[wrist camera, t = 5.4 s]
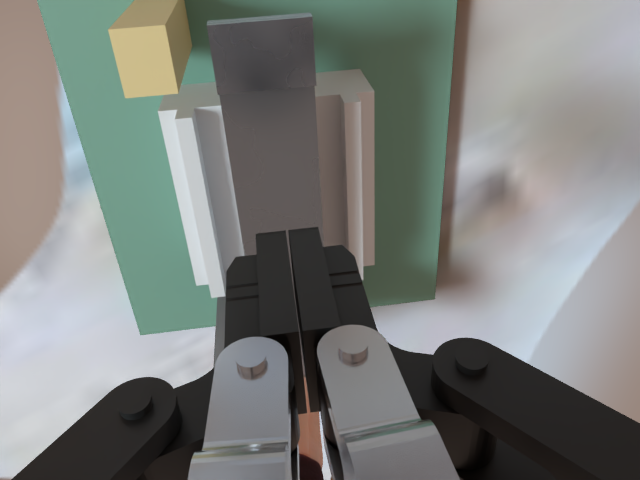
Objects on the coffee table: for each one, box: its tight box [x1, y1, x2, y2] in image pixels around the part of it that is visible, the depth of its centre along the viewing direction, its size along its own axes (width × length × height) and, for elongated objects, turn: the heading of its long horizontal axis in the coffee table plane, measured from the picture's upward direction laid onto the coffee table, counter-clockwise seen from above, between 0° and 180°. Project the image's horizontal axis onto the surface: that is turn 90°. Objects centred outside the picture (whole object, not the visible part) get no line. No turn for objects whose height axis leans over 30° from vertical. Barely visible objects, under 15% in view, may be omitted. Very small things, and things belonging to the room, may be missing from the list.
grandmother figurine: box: [298, 378, 333, 480], centre depth 28 cm, size 8×4×13 cm, turn 71°
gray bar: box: [207, 12, 324, 378], centre depth 21 cm, size 16×4×2 cm, turn 3°
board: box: [37, 0, 457, 367], centre depth 23 cm, size 18×16×8 cm
